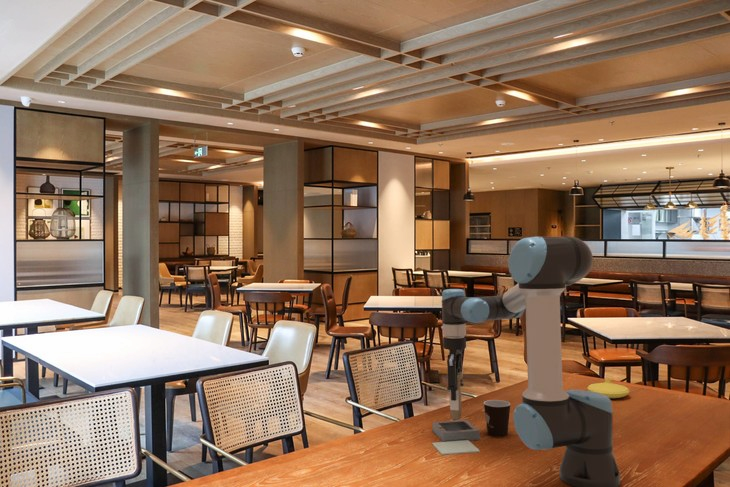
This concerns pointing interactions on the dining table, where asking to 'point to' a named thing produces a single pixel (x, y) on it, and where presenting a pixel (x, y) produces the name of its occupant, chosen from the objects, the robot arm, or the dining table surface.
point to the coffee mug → (497, 417)
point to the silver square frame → (456, 430)
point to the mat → (455, 447)
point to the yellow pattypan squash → (609, 389)
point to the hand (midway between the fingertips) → (455, 407)
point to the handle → (456, 413)
